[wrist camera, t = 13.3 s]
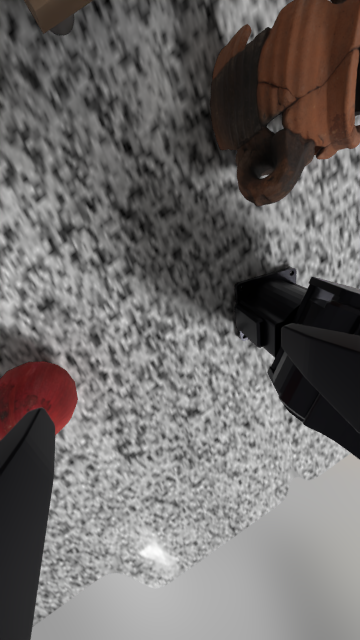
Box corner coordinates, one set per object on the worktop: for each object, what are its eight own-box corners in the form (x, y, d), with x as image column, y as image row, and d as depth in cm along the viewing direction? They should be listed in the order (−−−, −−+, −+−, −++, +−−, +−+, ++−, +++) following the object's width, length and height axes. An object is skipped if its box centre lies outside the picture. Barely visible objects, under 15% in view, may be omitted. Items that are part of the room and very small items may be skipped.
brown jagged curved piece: (222, -17, 14) (402, -167, 9) (276, 103, 22) (395, 59, 16) (176, 184, 16) (312, 157, 10) (242, 235, 23) (342, 235, 17)
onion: (-8, 362, 20) (-73, 448, 13) (57, 332, 20) (30, 399, 13) (36, 406, 22) (4, 496, 15) (93, 379, 23) (86, 454, 16)
